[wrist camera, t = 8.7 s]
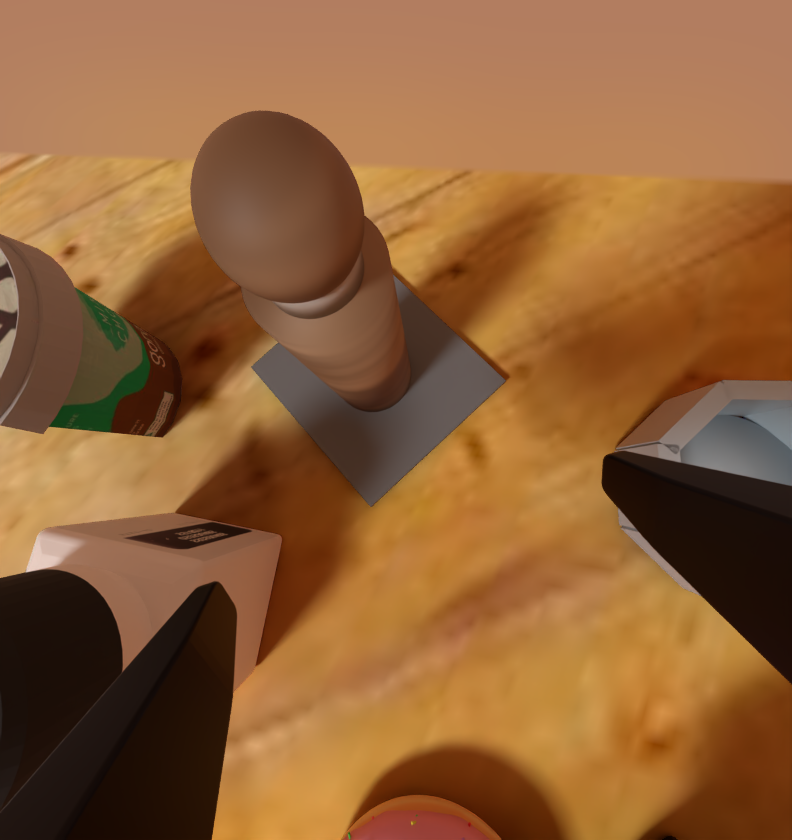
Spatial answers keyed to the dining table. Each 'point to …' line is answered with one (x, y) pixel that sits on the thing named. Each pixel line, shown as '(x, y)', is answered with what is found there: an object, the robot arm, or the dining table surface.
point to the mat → (398, 425)
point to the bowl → (719, 437)
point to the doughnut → (420, 821)
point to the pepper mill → (303, 252)
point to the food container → (76, 356)
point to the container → (111, 617)
